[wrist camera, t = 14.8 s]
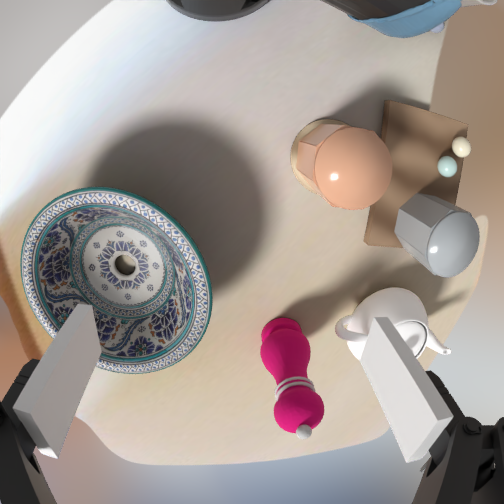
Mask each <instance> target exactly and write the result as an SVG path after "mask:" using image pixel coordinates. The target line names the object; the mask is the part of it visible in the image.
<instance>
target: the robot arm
mask: <svg viewBox="0 0 504 504" xmlns="http://www.w3.org/2000/svg"><path fill="white" fill-rule="evenodd" d="M166 1H167V2H168V3H169V4H170V5H171V6H172V7H173V8H174V9H175V10H177V11H178V12H180V13H182V14H184V15H186V16H188V17H191V18H194V19H198V20H203V21H227V20H233V19H237V18H240V17H243V16H246V15H248V14H250V13H252V12H254V11H256V10H258V9H259V8H261V7H262V6H263V5H264V4H265V3H266V2H267V1H268V0H166ZM321 1H323V2H325V3H327V4H329V5H331V6H333V7H335V8H337V9H339V10H341V11H343V12H345V13H347V15H348V16H349V17H350V18H351V19H353V20H355V21H357V22H361V23H365V24H367V25H369V26H370V27H372V28H374V29H376V30H378V31H379V32H381V33H383V34H385V35H388V36H391V37H399V38H408V37H414V36H417V35H420V34H423V33H425V32H428V31H430V30H432V29H433V28H435V27H437V26H439V25H440V24H442V23H443V22H444V21H446V20H447V19H449V18H450V17H451V16H452V15H453V14H454V13H455V12H456V11H457V10H458V9H459V8H460V7H461V6H462V4H461V2H460V1H462V0H321ZM101 352H102V350H101V346H100V342H99V337H98V333H97V328H96V323H95V318H94V313H93V307H92V305H84V304H77V306H76V307H75V309H74V310H73V311H72V313H71V314H70V316H69V317H68V319H67V320H66V322H65V323H64V325H63V326H62V328H61V329H60V331H59V332H58V334H57V335H56V337H55V338H54V340H53V341H52V343H51V344H50V346H49V347H48V349H47V351H46V352H45V354H44V355H43V357H42V358H41V360H37V359H32V360H30V361H29V362H28V363H27V364H25V365H24V366H23V368H22V369H21V371H20V372H19V375H18V376H17V377H16V379H15V380H14V383H13V384H12V386H11V387H10V389H9V391H8V392H7V394H6V395H5V397H4V399H3V401H2V402H0V500H1V503H2V504H57V503H56V501H55V499H54V497H53V495H52V493H51V491H50V488H49V487H48V484H47V482H46V480H45V477H44V475H43V473H42V471H41V468H40V466H39V464H38V461H37V459H36V456H35V455H34V453H33V451H34V448H35V446H37V448H38V449H39V451H40V452H41V453H42V454H45V455H48V456H51V457H54V458H57V459H58V458H59V455H60V452H61V449H62V447H63V444H64V441H65V438H66V436H67V433H68V431H69V428H70V425H71V423H72V420H73V418H74V415H75V413H76V410H77V408H78V405H79V403H80V400H81V398H82V396H83V393H84V391H85V388H86V386H87V384H88V381H89V379H90V377H91V375H92V372H93V370H94V368H95V366H96V363H97V361H98V359H99V357H100V354H101ZM360 363H361V365H362V367H363V369H364V371H365V373H366V375H367V377H368V379H369V381H370V384H371V386H372V388H373V390H374V392H375V394H376V396H377V398H378V401H379V403H380V405H381V407H382V409H383V411H384V414H385V416H386V418H387V420H388V422H389V425H390V427H391V429H392V431H393V433H394V436H395V438H396V440H397V442H398V445H399V447H400V449H401V451H402V454H403V456H404V458H405V461H406V463H408V462H412V461H416V460H419V459H422V458H423V457H424V455H425V454H426V453H427V452H428V450H429V452H430V454H431V457H430V458H429V460H428V461H427V462H426V463H425V464H424V466H423V467H422V468H421V470H420V471H423V470H424V469H425V471H424V474H423V477H422V480H421V482H420V485H419V487H418V490H417V493H416V495H415V498H414V500H413V502H412V504H504V417H502V418H500V419H499V421H498V422H497V423H496V424H495V425H494V426H493V425H491V426H490V425H486V426H485V425H484V426H483V425H481V423H480V422H479V421H478V420H476V419H474V418H472V417H465V416H464V415H463V413H462V411H461V410H460V408H459V407H458V405H457V403H456V402H455V401H454V399H453V397H452V396H451V394H449V391H448V390H447V388H446V387H445V385H444V384H443V382H442V381H441V379H440V378H439V377H438V376H437V375H436V374H434V373H433V372H432V371H424V369H423V367H422V366H421V364H420V363H419V362H418V360H417V359H416V357H415V356H414V354H413V353H412V351H411V350H410V348H409V347H408V345H407V344H406V342H405V341H404V339H403V338H402V337H401V335H400V334H399V332H398V331H397V329H396V328H395V327H394V325H393V324H392V322H391V321H390V320H389V318H388V317H374V319H373V322H372V325H371V329H370V332H369V335H368V338H367V341H366V344H365V347H364V350H363V352H362V355H361V358H360ZM494 463H495V467H494Z"/></svg>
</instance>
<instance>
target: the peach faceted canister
mask: <svg viewBox="0 0 504 504" xmlns="http://www.w3.org/2000/svg"><path fill="white" fill-rule="evenodd" d="M296 168H297V170H298V172H299V173H300V174H301V175H302V177H303V178H304V179H305V180H306V182H307V183H308V184H309V185H310V187H311V188H312V189H313V190H314V191H315V192H316V193H317V194H319V195H320V196H321V197H322V198H323V199H324V200H325V201H327V202H328V203H329V204H330V205H331V206H333V207H341V208H344V209H349V210H357V209H361V210H362V209H364V208H366V207H368V206H370V205H372V204H374V203H375V202H377V201H378V200H379V199H380V198H381V197H382V196H383V194H384V193H385V192H386V190H387V188H388V186H389V184H390V181H391V177H392V158H391V155H390V153H389V150H388V148H387V146H386V145H385V143H384V142H383V141H382V140H381V139H380V138H379V137H378V136H377V134H376V133H375V131H372V130H367V129H362V128H356V127H351V126H345V125H332V124H320V125H318V126H317V127H316V128H315V129H313V130H312V131H311V132H309V133H308V134H307V135H306V136H304V137H303V138H302V139H301V140H299V144H298V154H297V163H296Z"/></svg>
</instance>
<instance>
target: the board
mask: <svg viewBox="0 0 504 504" xmlns="http://www.w3.org/2000/svg"><path fill="white" fill-rule="evenodd" d="M467 128H468V124H465V123H462V122H460V121H457V120H454V119H451V118H448V117H445V116H442V115H439V114H436V113H433V112H430V111H427V110H424V109H420V108H417V107H414V106H410V105H407V104H403V103H399V102H396V101H392V100H385V104H384V114H383V123H382V132H381V140H382V141H383V142H384V143H385V145H386V146H387V148H388V150H389V153H390V155H391V158H392V177H391V181H390V184H389V186H388V188H387V190H386V192H385V193H384V194H383V196H382V197H381V198H380V199H379V200H378V201H377V202H375V203H374V204H372V205H371V206H370V211H369V217H368V222H367V227H366V232H365V237H364V242H365V243H366V244H367V245H371V246H385V247H399V248H403V246H402V244H401V243H400V241H399V239H398V238H397V236H396V234H395V233H394V230H395V226H396V221H397V216H398V211H399V208H400V207H401V206H402V205H403V204H404V203H406V202H407V201H408V200H409V199H410V198H411V197H413V196H414V195H415V194H416V193H421V194H427V195H432V196H436V197H439V198H441V199H443V200H445V201H447V202H449V203H451V204H453V205H455V203H456V198H457V193H458V188H459V182H460V177H461V171H462V165H463V159H464V157H458V156H457V155H456V154H455V153H454V152H453V150H452V142H453V140H454V139H455V138H457V137H464V138H466V137H467ZM443 156H450V157H452V158H453V159H454V160H455V161H456V163H457V172H456V174H455V175H454V176H452V177H444V176H442V175H441V174H440V173H439V171H438V167H437V164H438V161H439V159H440V158H441V157H443Z"/></svg>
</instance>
